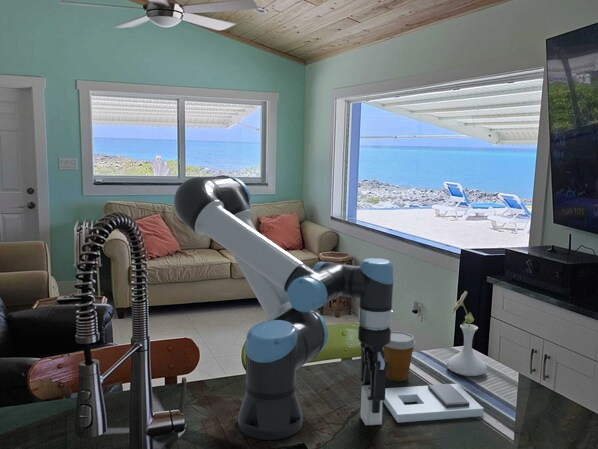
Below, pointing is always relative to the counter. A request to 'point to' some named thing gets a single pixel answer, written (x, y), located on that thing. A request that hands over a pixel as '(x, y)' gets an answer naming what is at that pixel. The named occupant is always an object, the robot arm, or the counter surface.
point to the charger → (367, 404)
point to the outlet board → (426, 405)
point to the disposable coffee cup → (398, 355)
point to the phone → (448, 395)
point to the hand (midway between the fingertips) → (370, 418)
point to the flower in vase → (466, 349)
